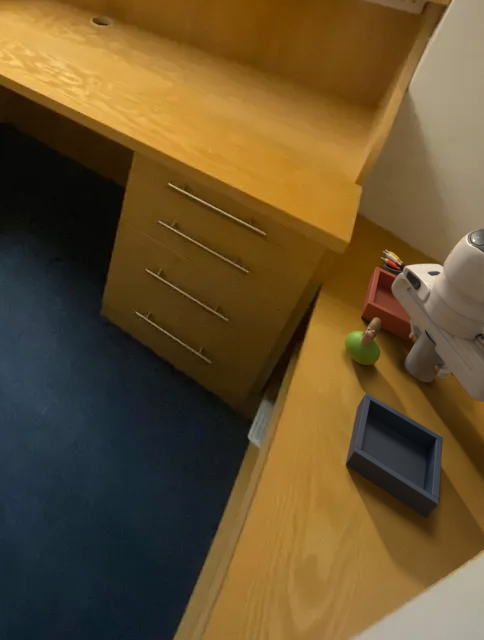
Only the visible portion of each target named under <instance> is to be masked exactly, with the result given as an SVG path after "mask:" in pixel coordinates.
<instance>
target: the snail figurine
mask: <svg viewBox="0 0 484 640" xmlns="http://www.w3.org/2000/svg"><path fill="white" fill-rule="evenodd" d="M380 329H381V320H380V319H379V318H377V317H375V318H374V319H373V320H372V321H371V322H370V321H369V324H368V325H367V326H366V328H365V330H364V331H361V330H354V331H351V332H349V333H348V334H347V336H346V338H345V339H344V347H345V351H346V352H347V354H348V355H349V357H350V358H351V359H352V360H353V361H355V363H358V364H360V365H362V366H363V365H364V366H371V365H373V364H375V363H377V362H378V361H379V359H380V356H381V350H380V349H381V348H380V345H379V344H378V342H377V340H376V339H375V338H376V337H377V335H378V333H379V331H380Z"/></svg>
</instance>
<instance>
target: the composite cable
mask: <svg viewBox="0 0 484 640" xmlns="http://www.w3.org/2000/svg"><path fill="white" fill-rule="evenodd" d="M382 253H383V254H384V255H385V257H383V256H381V257H380V259H381V260H382V261H383V262H384V265H383V270H385V271H388V272H390V273H392V274H397V275H399V274H400V273H403V269H404V267H405V266H406V265H405V263H404V262H403V261H402V260H401V258H400V257H399V256H398V255H396V254H395V253H394V252H392V251H389V250H388V249H385V250H383V251H382ZM390 267H391V268H390Z"/></svg>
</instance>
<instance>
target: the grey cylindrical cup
mask: <svg viewBox="0 0 484 640" xmlns="http://www.w3.org/2000/svg"><path fill="white" fill-rule="evenodd" d="M435 347H436V343H435V342H434V341H433V340H432V339H431V338H430V337H429V335H428V333H427V331H426V330H424V332H423V333H421V335H420V336H419V338H418V340H417V341H416V343H415V344H413V346H412V347H411V348H410V349H411V350H410V351H409V353H408V354H407V355H406V357H405V359H404V367H405V369H406V370H407V372H408V373H409V374H410V375H411V376H412V377H413V378H415V379H416V380H418V381H420V382H423V383H431V382H433V381H434V379H435V378H436V377H437V374H436V373H435V371H434V370H433V368H435V367H434V366H435V365H436V364H445V363H444V361H443V360H442V359H441V357H440V356H439V355H438V353H437V352H436V351H435Z"/></svg>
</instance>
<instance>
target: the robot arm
mask: <svg viewBox="0 0 484 640" xmlns="http://www.w3.org/2000/svg"><path fill="white" fill-rule="evenodd" d="M396 276H397V277H396V279H395V280H394V282H393V284H392V293H393V295H394V296H395V298H396V299H397V300H398V302H399V303H400V304H401V306H402V307H403V308H404V310H405V311H406V312H407V314H408V315H409V316H410V318H411V319H410V325H411V331H412V332H411V333H410V335H409V337H410V339H411V340H412V341H413V343H414V344H415V343H416V341H417V340H418V338H419V336H420V335H421V333H423V332H424V330H426V331H427V333H428V335H429V337H430V338H431V339H432V340H433V341H434V342H435V343H436V347H435V351H436V352H437V353H438V355H439V356H440V357H441V359H442V360H443V361H444V363H445V364H436V365H435V366H434V367H435V368H433V370H434V371H435V373H436V374H437V375H436V377H438V379H446V378H449V377H450V375H453V376H454V377H455V378H456V380H457V381H458V382H459V384H460V385H461V386H462V388H463V389H464V390H465V392H466V393H467V394H468V396H469V397H470V398H471V399H472V400H475V401H478V402H484V228H478V229H474V230H472V231H470V232H468V233H467V234H465V235H464V236H463V237H461V239H460V240H459V241H458V242H456V245H454V247H453V248H452V250H451V251H450V252H449V254H448V256H446V259H445V261H444V262H443V265H441V264H438V263H417V264H416V263H415V264H410V265H409V264H408V265H405V267H404V269H403V273H400V274H397V275H396ZM413 343H412V344H413ZM414 344H413V345H414Z"/></svg>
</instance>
